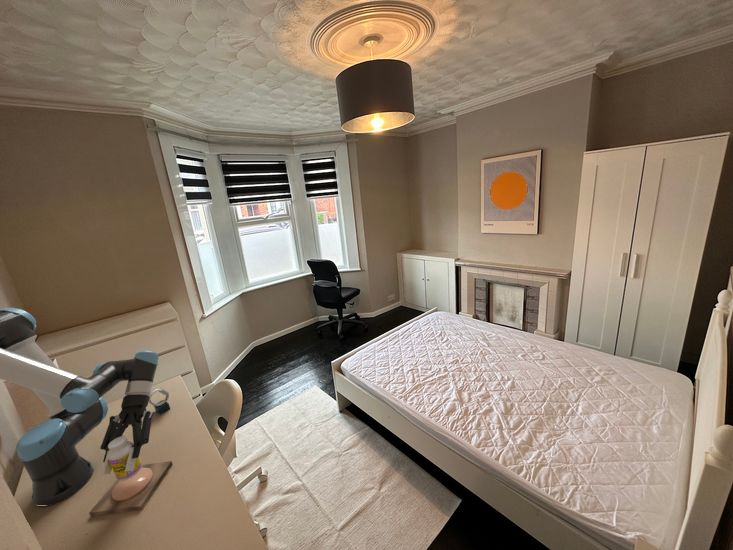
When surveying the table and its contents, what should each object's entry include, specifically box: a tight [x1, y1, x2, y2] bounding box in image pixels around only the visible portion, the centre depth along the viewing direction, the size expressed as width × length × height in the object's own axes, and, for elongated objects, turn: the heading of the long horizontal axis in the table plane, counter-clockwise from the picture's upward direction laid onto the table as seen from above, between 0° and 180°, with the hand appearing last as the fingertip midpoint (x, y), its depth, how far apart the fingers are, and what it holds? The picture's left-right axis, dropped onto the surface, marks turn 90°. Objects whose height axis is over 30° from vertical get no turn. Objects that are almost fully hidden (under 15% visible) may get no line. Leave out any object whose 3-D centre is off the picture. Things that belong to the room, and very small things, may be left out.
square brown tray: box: [88, 460, 173, 517], centre depth 99 cm, size 16×16×2 cm
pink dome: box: [112, 468, 153, 501], centre depth 98 cm, size 11×11×1 cm
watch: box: [148, 387, 171, 415], centre depth 137 cm, size 6×8×11 cm
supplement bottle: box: [108, 435, 143, 481], centre depth 95 cm, size 7×7×13 cm
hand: (117, 472), depth 93 cm, fingers closed on supplement bottle, 7 cm apart
